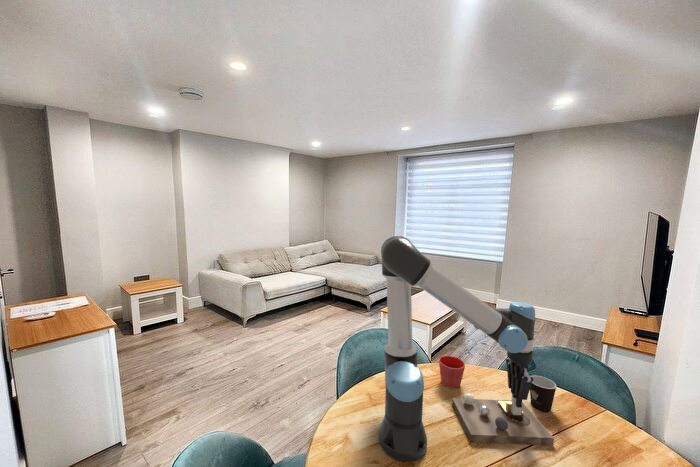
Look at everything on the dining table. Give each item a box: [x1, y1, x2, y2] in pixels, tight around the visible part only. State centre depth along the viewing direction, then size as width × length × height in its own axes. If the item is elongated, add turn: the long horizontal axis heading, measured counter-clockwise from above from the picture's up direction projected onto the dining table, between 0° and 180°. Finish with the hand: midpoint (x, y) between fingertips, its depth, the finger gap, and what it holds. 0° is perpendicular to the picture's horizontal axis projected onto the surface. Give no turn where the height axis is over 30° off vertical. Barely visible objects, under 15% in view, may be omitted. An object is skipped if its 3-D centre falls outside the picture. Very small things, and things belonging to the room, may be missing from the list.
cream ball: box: [463, 392, 475, 405], centre depth 105 cm, size 4×4×4 cm
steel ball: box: [479, 405, 490, 417], centre depth 99 cm, size 3×3×3 cm
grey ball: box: [495, 417, 508, 430], centre depth 93 cm, size 4×4×4 cm
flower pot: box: [438, 355, 466, 389], centre depth 122 cm, size 11×11×10 cm
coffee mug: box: [529, 374, 557, 414], centre depth 109 cm, size 12×9×10 cm
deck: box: [451, 397, 555, 446], centre depth 99 cm, size 26×18×2 cm
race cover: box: [498, 401, 523, 415], centre depth 102 cm, size 6×6×4 cm
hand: (516, 413), depth 99 cm, fingers closed
